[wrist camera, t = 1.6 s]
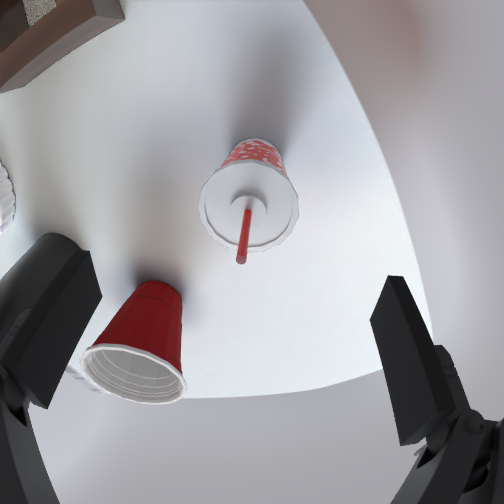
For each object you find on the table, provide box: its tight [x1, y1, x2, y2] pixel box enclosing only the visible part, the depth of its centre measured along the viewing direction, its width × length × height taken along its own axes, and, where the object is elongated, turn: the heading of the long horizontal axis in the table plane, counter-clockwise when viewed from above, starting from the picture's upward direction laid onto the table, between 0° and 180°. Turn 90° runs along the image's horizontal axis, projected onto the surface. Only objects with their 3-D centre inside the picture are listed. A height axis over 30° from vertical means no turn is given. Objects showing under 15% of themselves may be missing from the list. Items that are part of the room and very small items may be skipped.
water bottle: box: [0, 233, 81, 409], centre depth 24 cm, size 10×10×23 cm
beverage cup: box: [198, 138, 299, 264], centre depth 20 cm, size 6×6×14 cm
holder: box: [0, 0, 125, 94], centre depth 15 cm, size 13×13×5 cm
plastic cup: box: [80, 280, 187, 405], centre depth 31 cm, size 11×11×12 cm
